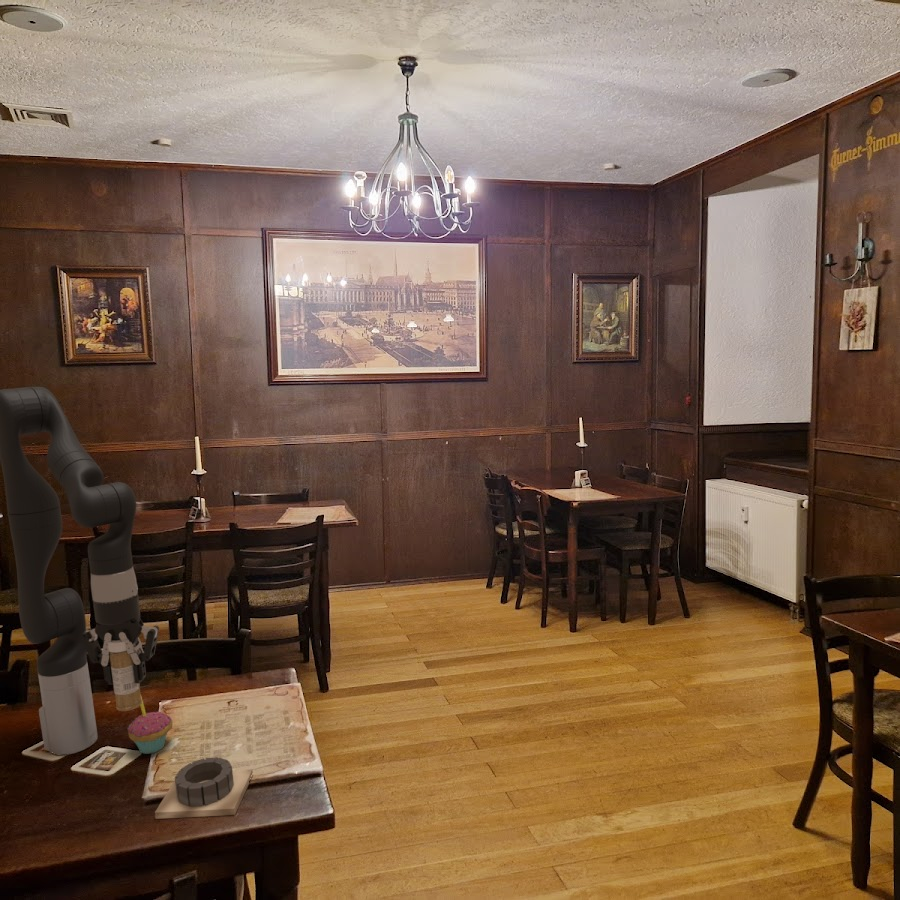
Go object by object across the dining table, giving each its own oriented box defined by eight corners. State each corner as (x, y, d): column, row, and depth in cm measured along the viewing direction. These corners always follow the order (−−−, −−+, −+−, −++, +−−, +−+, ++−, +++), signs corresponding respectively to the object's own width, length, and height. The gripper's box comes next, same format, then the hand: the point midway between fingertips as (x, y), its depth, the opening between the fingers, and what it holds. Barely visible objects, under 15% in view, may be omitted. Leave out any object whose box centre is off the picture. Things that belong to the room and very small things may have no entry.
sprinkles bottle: (141, 698, 143) (133, 630, 140) (143, 708, 139) (134, 639, 136) (115, 704, 141) (106, 636, 139) (116, 714, 137) (107, 644, 134)
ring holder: (155, 818, 132) (152, 794, 131) (180, 778, 144) (177, 756, 143) (234, 814, 132) (232, 790, 131) (252, 775, 144) (250, 752, 143)
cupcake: (121, 755, 154) (113, 700, 152) (150, 734, 161) (144, 681, 160) (155, 761, 151) (147, 705, 149) (183, 739, 158) (177, 685, 157)
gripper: (65, 602, 133) (77, 693, 135) (145, 598, 132) (156, 690, 135) (85, 588, 140) (97, 674, 143) (162, 584, 140) (172, 671, 142)
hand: (126, 681), depth 139 cm, fingers closed on sprinkles bottle, 4 cm apart
